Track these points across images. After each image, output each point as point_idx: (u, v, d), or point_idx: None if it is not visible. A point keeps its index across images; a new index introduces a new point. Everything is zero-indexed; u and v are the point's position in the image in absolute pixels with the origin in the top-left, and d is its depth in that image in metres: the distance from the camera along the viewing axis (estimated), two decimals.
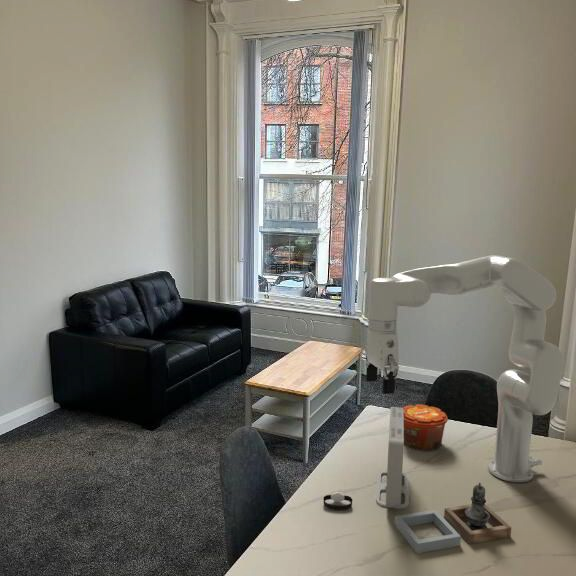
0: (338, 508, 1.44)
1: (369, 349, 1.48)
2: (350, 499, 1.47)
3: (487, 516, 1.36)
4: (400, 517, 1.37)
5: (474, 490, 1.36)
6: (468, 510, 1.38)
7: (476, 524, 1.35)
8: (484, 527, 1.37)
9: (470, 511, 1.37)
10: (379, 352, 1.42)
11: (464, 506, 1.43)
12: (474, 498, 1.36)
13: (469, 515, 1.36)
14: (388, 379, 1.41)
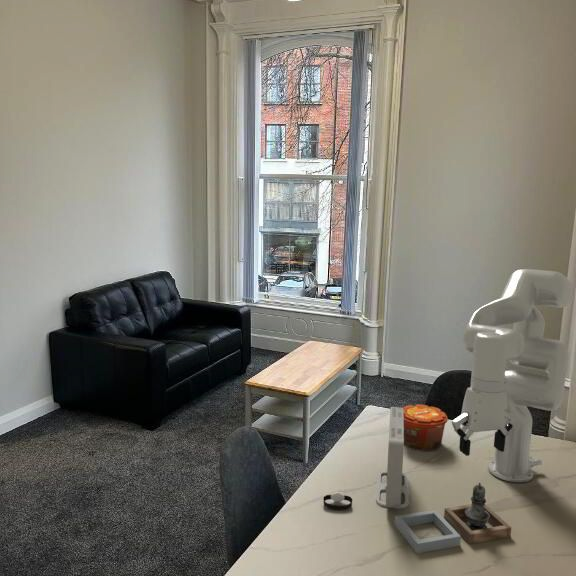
0: (338, 508, 1.44)
1: (481, 417, 1.30)
2: (350, 499, 1.47)
3: (487, 516, 1.36)
4: (400, 517, 1.37)
5: (474, 490, 1.36)
6: (468, 510, 1.38)
7: (476, 524, 1.35)
8: (484, 527, 1.37)
9: (470, 511, 1.37)
10: (502, 411, 1.31)
11: (464, 506, 1.43)
12: (474, 498, 1.36)
13: (469, 515, 1.36)
14: None
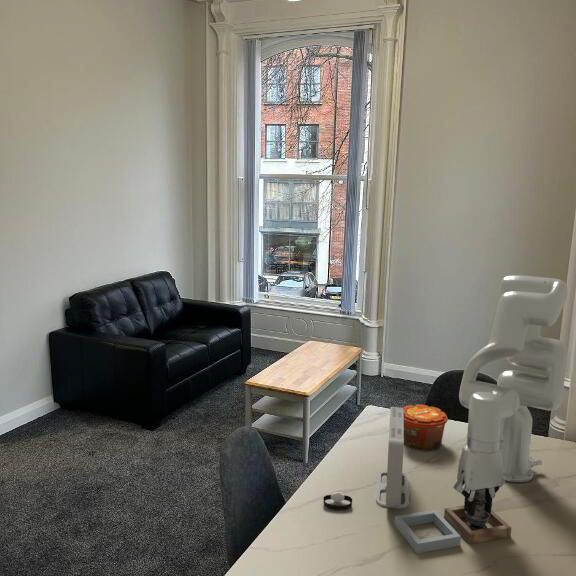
0: (338, 508, 1.44)
1: (477, 476, 1.32)
2: (350, 499, 1.47)
3: (487, 516, 1.36)
4: (400, 517, 1.37)
5: None
6: None
7: (476, 524, 1.35)
8: (484, 527, 1.37)
9: None
10: (498, 470, 1.34)
11: None
12: (474, 498, 1.36)
13: (469, 515, 1.36)
14: None
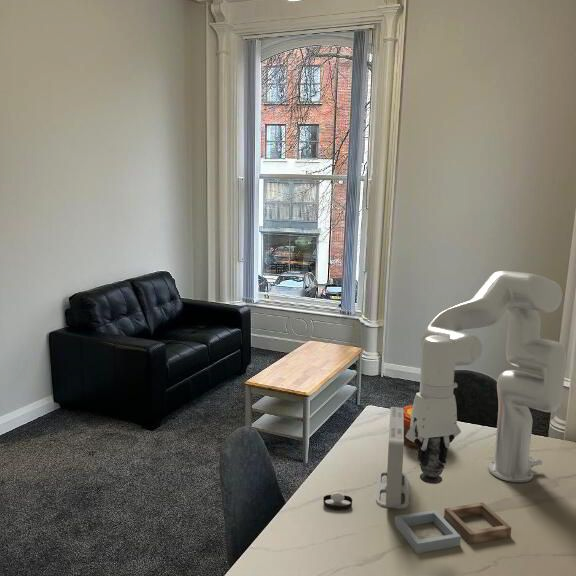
0: (338, 508, 1.44)
1: (430, 423, 1.26)
2: (350, 499, 1.47)
3: (441, 466, 1.30)
4: (400, 517, 1.37)
5: None
6: None
7: (430, 474, 1.29)
8: (439, 478, 1.31)
9: None
10: (452, 417, 1.28)
11: (464, 506, 1.43)
12: (428, 447, 1.30)
13: (423, 465, 1.30)
14: None
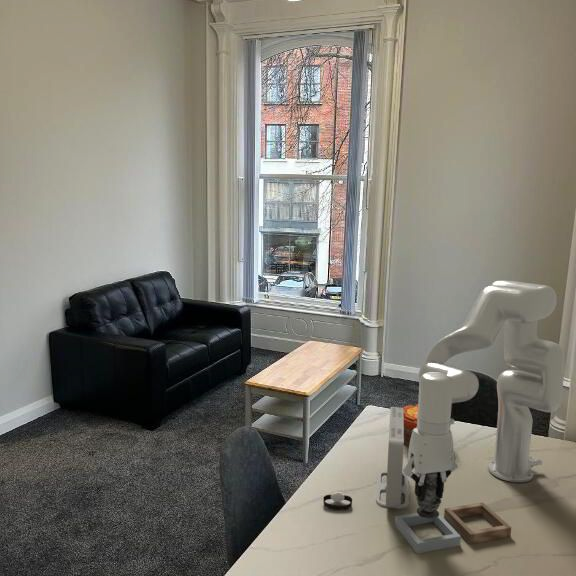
0: (338, 508, 1.44)
1: (427, 459, 1.28)
2: (350, 499, 1.47)
3: (438, 501, 1.31)
4: (400, 517, 1.37)
5: None
6: None
7: (427, 509, 1.30)
8: (435, 513, 1.32)
9: None
10: (449, 453, 1.29)
11: (464, 506, 1.43)
12: (425, 482, 1.31)
13: (420, 500, 1.31)
14: None
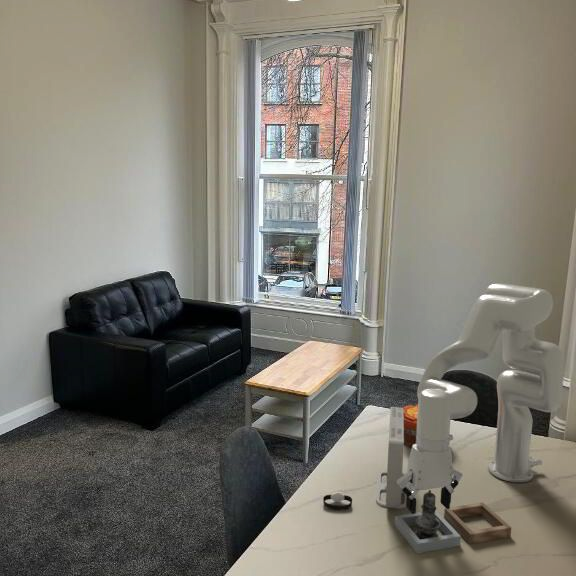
0: (338, 508, 1.44)
1: (426, 476, 1.28)
2: (350, 499, 1.47)
3: (437, 524, 1.32)
4: (400, 517, 1.37)
5: (424, 497, 1.32)
6: (419, 518, 1.34)
7: (426, 532, 1.32)
8: (435, 535, 1.33)
9: (420, 519, 1.33)
10: (448, 469, 1.30)
11: (464, 506, 1.43)
12: (424, 506, 1.32)
13: (419, 523, 1.33)
14: None
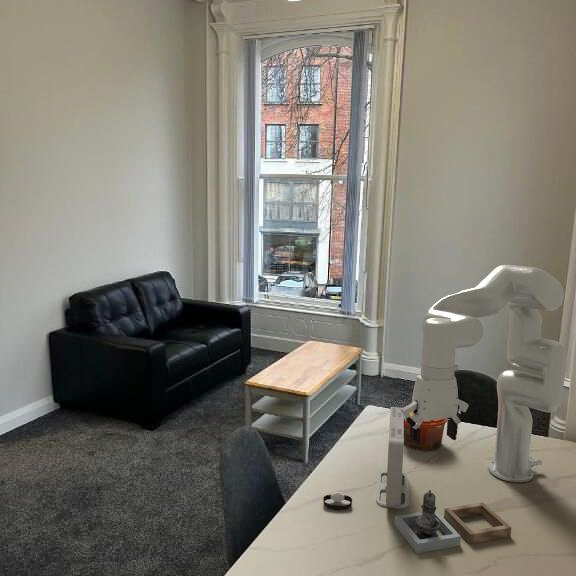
0: (338, 508, 1.44)
1: (431, 405, 1.26)
2: (350, 499, 1.47)
3: (437, 524, 1.32)
4: (400, 517, 1.37)
5: (424, 497, 1.32)
6: (419, 518, 1.34)
7: (426, 532, 1.32)
8: (435, 535, 1.33)
9: (420, 519, 1.33)
10: (453, 399, 1.28)
11: (464, 506, 1.43)
12: (424, 506, 1.32)
13: (419, 523, 1.33)
14: None
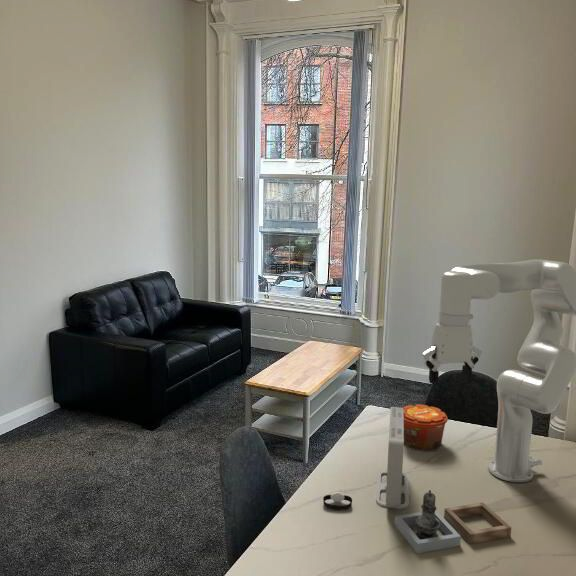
0: (338, 508, 1.44)
1: (448, 349, 1.40)
2: (350, 499, 1.47)
3: (437, 524, 1.32)
4: (400, 517, 1.37)
5: (424, 497, 1.32)
6: (419, 518, 1.34)
7: (426, 532, 1.32)
8: (435, 535, 1.33)
9: (420, 519, 1.33)
10: (468, 345, 1.42)
11: (464, 506, 1.43)
12: (424, 506, 1.32)
13: (419, 523, 1.33)
14: None
